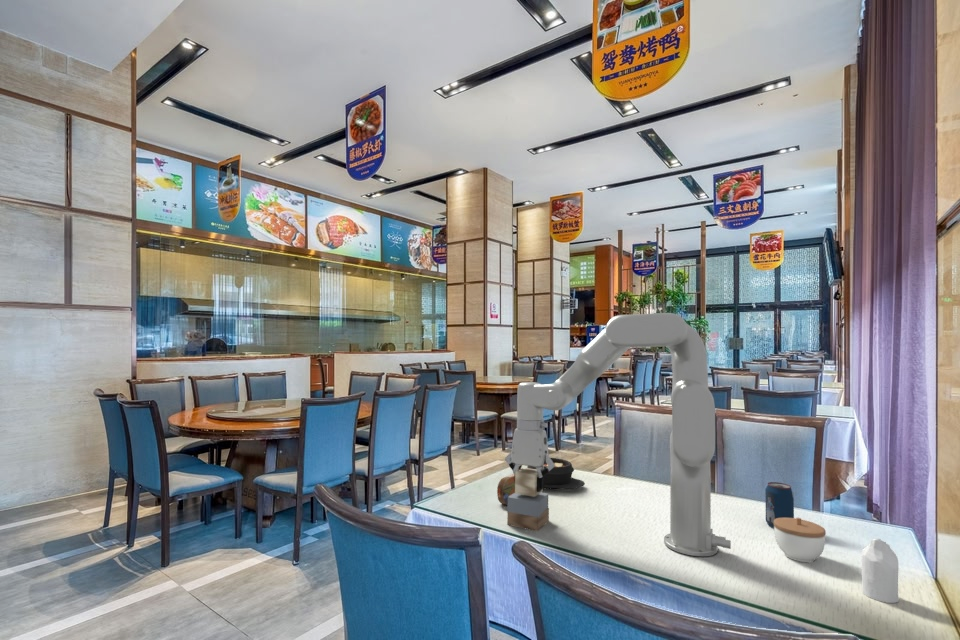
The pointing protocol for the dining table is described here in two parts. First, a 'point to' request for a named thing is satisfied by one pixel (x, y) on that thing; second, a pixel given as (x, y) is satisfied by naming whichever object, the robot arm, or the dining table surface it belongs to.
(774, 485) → the soda can
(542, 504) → the slate block
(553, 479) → the casserole
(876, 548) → the white plastic bottle
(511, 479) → the tin
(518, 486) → the maple cube
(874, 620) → the dining table surface
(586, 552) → the dining table surface
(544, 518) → the walnut block
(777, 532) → the lidded jar
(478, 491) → the dining table surface
